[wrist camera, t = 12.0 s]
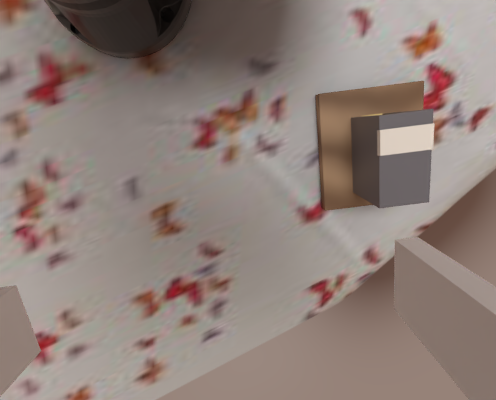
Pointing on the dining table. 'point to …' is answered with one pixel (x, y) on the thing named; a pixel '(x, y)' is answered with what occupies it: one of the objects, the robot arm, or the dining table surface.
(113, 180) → the dining table surface
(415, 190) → the block
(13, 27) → the dining table surface
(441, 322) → the robot arm
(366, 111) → the board
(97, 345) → the dining table surface
